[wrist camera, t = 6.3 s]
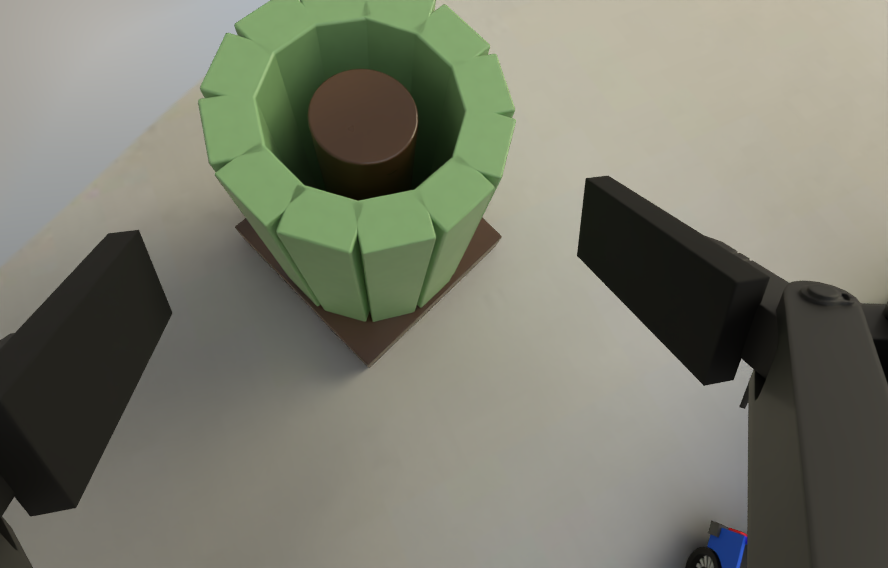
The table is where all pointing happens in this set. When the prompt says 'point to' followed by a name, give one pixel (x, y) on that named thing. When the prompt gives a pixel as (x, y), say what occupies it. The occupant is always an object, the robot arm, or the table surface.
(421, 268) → the green tube
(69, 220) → the table surface
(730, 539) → the toy car
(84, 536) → the table surface
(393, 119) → the stacking stand
